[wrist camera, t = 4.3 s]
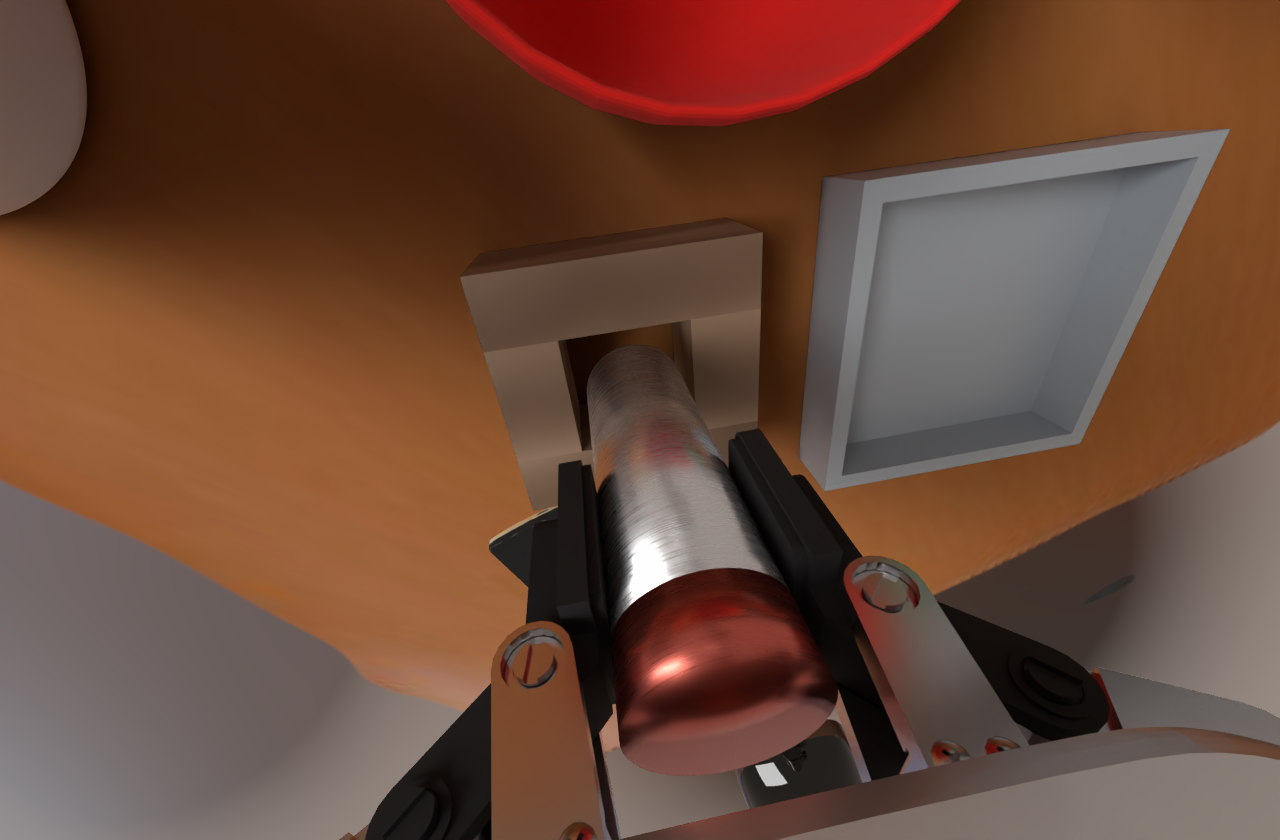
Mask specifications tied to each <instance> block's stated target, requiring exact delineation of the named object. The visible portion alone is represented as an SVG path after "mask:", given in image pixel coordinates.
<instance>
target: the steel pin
mask: <svg viewBox="0 0 1280 840" xmlns="http://www.w3.org/2000/svg"><path fill="white" fill-rule="evenodd" d="M587 400H588V411H589V421H590V432H591V443H592V453H593V464H594V475H595V485H596V491H597V498H598V508H599V518H600V529H601V539H602V549H603V560H604V570H605V580H606V591H607V601H608V612H609V622H610V632H611V638H610V646H611V656H612V667H613V678H614V688H615V699H616V710H617V720H618V731H619V741H620V747H621V750H622V752H623V754H624V755H625V756H626V757H627V758H628V760H630V761H631V762H632V763H633V764H635V765H637V766H639V767H641V768H643V769H645V770H648V771H651V772H655V773H660V774H666V775H677V776H695V775H707V774H715V773H720V772H726V771H731V770H735V769H739V768H743V767H746V766H750V765H753V764H756V763H759V762H761V761H764V760H767V759H769V758H771V757H774V756H776V755H778V754H780V753H782V752H784V751H786V750H788V749H790V748H792V747H793V746H795V745H797V744H798V743H800V742H802V741H803V740H804V739H806V738H807V737H809V736H810V735H811V734H812V733H814V732H815V731H816V730H817V729H818V728H819V727H820V726H821V725H822V724H823V723H824V722H825V721H826V720H827V719H828V717H829V716H830V715H831V713H832V711H833V710H834V708H835V705H836V703H837V700H838V686H837V684H836V681H835V679H834V677H833V675H832V673H831V671H830V669H829V667H828V665H827V663H826V661H825V659H824V657H823V655H822V653H821V651H820V649H819V647H818V645H817V644H816V642H815V640H814V638H813V636H812V634H811V632H810V630H809V628H808V626H807V624H806V622H805V620H804V618H803V616H802V614H801V612H800V610H799V608H798V606H797V604H796V602H795V600H794V598H793V596H792V594H791V592H790V590H789V588H788V586H787V584H786V582H785V580H784V578H783V576H782V574H781V572H780V570H779V568H778V566H777V564H776V562H775V560H774V558H773V556H772V554H771V552H770V550H769V548H768V546H767V544H766V542H765V540H764V538H763V536H762V534H761V533H760V531H759V529H758V527H757V525H756V523H755V521H754V519H753V517H752V515H751V513H750V511H749V509H748V507H747V505H746V503H745V501H744V499H743V497H742V495H741V493H740V491H739V489H738V487H737V485H736V483H735V481H734V479H733V477H732V475H731V473H730V471H729V469H728V467H727V465H726V463H725V461H724V459H723V457H722V455H721V453H720V451H719V449H718V447H717V445H716V443H715V441H714V439H713V437H712V435H711V433H710V431H709V429H708V427H707V425H706V424H705V422H704V420H703V418H702V416H701V414H700V412H699V410H698V408H697V406H696V404H695V402H694V400H693V398H692V396H691V394H690V392H689V390H688V388H687V386H686V384H685V382H684V380H683V378H682V376H681V374H680V372H679V370H678V368H677V366H676V364H675V363H674V361H673V360H672V359H671V358H670V357H669V356H668V355H667V354H665V353H664V352H662V351H661V350H659V349H656V348H654V347H651V346H646V345H628V346H623V347H620V348H617V349H615V350H613V351H611V352H609V353H608V354H606V355H605V356H604V357H603V358H601V359H600V360H599V361H598V363H597V364H596V365H595V366H594V368H593V369H592V371H591V373H590V376H589V379H588V383H587Z"/></svg>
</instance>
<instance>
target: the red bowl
mask: <svg viewBox="0 0 1280 840" xmlns="http://www.w3.org/2000/svg"><path fill="white" fill-rule="evenodd" d="M445 1H446V2H447V3H448V4H449V5H450V7H451V8H452V9H453V10H454V11H455V12H456V13H457V14H458V15H459V17H460V18H461V19H462V20H463V21H464V22H465V23H466V24H467V25H468V26H469V27H471V28H472V29H473V30H474V31H475V32H477V33H478V34H479V35H480V36H482V37H483V38H484V39H485V40H487V41H488V42H489V43H490V44H492V45H493V46H494V47H495V48H497V49H498V50H499V51H500V52H502V53H503V54H504V55H505V56H507V57H508V58H509V59H510V60H512V61H513V62H514V63H515V64H517V65H518V66H519V67H521V68H522V69H523V70H524V71H526V72H527V73H528V74H529V75H531V76H532V77H533V78H534V79H536V80H538V81H539V82H541V83H543V84H545V85H547V86H549V87H551V88H553V89H555V90H557V91H559V92H561V93H563V94H565V95H567V96H569V97H571V98H573V99H575V100H577V101H578V102H580V103H582V104H584V105H586V106H588V107H590V108H592V109H595V110H599V111H603V112H606V113H610V114H614V115H618V116H622V117H626V118H630V119H633V120H637V121H641V122H645V123H649V124H654V125H686V126H726V125H731V124H736V123H741V122H745V121H750V120H755V119H759V118H764V117H769V116H773V115H778V114H783V113H787V112H792V111H795V110H797V109H800V108H802V107H804V106H806V105H808V104H810V103H813V102H815V101H817V100H819V99H821V98H823V97H825V96H827V95H830V94H832V93H834V92H836V91H838V90H840V89H842V88H845V87H847V86H849V85H851V84H853V83H855V82H857V81H859V80H862V79H864V78H866V77H867V76H869V75H870V74H871V73H873V72H874V71H875V70H877V69H878V68H880V67H881V66H882V65H884V64H885V63H886V62H888V61H889V60H891V59H892V58H893V57H895V56H896V55H897V54H899V53H900V52H902V51H903V50H904V49H906V48H907V47H908V46H910V45H911V44H913V43H914V42H915V41H917V40H918V39H919V38H921V37H922V36H924V35H925V34H926V33H928V32H929V31H930V30H932V29H933V28H934V27H935V26H936V25H937V24H938V23H939V22H940V21H941V20H942V19H943V18H944V17H945V16H946V15H947V14H948V13H949V12H950V11H951V10H952V9H953V8H954V7H955V6H956V5H957V4H958V3H959V2H960V1H961V0H445Z"/></svg>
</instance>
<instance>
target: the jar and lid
mask: <svg viewBox="0 0 1280 840" xmlns="http://www.w3.org/2000/svg"><path fill="white" fill-rule="evenodd" d="M735 771H736V774H737V778H738V781H739V784H740V786H741V789H742V792H743V795H744V798H745V800H746V802H747V805H748V807H749V809H752V808H756V807H760V806H765V805H769V804H773V803H778V802H782V801H786V800H791V799H795V798H799V797H804V796H808V795H812V794H817V793H821V792H825V791H830V790H834V789H838V788H843V787H847V786H851V785H856V784H860V783H862V780H861V777H860V775H859V772H858V769H857V766H856V763H855V760H854V757H853V754H852V752H851V749H850V746H849V743H848V740H847V737H846V734H845V732H844V729H843V726H842V723H841V720H840V717H839V714H838V712H837V709H836V706H835V708H834V710H833V711H832V713H831V715H830V716H829V717H828V719H827V720H826V721H825V722H824V723H823V724H822V725H821V726H820V727H819V728H818V729H817V730H816V731H815V732H814V733H812V734H811V735H810V736H809V737H807V738H806V739H804V740H803V741H802V742H800V743H798V744H797V745H795V746H793V747H792V748H790V749H788V750H786V751H784V752H782V753H780V754H778V755H776V756H774V757H771V758H769V759H767V760H764V761H761V762H759V763H756V764H753V765H750V766H746V767H743V768H739V769H735Z"/></svg>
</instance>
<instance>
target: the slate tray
mask: <svg viewBox="0 0 1280 840" xmlns="http://www.w3.org/2000/svg"><path fill="white" fill-rule="evenodd" d="M1229 130H1230V129H1210V130H1182V131H1155V132H1138V133H1131V134H1123V135H1116V136H1109V137H1102V138H1095V139H1088V140H1081V141H1074V142H1067V143H1060V144H1052V145H1045V146H1038V147H1031V148H1024V149H1017V150H1010V151H1003V152H996V153H989V154H981V155H974V156H967V157H960V158H953V159H946V160H939V161H932V162H925V163H918V164H911V165H903V166H896V167H889V168H882V169H875V170H868V171H861V172H854V173H847V174H840V175H832V176H825V177H823V179H822V191H821V203H820V214H819V226H818V237H817V249H816V261H815V272H814V284H813V295H812V307H811V319H810V330H809V342H808V354H807V365H806V377H805V388H804V400H803V412H802V423H801V435H800V447H799V458H800V460H801V461H802V462H803V464H804V465H805V466H806V468H807V469H808V470H809V471H810V473H811V474H812V475H813V477H814V478H815V479H816V481H817V482H818V483H819V485H820V486H821V487H822V488H823V490H824V491H829V490H834V489H839V488H845V487H850V486H855V485H861V484H866V483H871V482H877V481H882V480H888V479H893V478H898V477H904V476H909V475H914V474H920V473H925V472H930V471H936V470H941V469H947V468H952V467H957V466H963V465H968V464H973V463H979V462H984V461H989V460H995V459H1000V458H1006V457H1011V456H1016V455H1022V454H1027V453H1032V452H1038V451H1043V450H1048V449H1054V448H1059V447H1065V446H1070V445H1075V444H1080V443H1081V440H1082V438H1083V436H1084V434H1085V432H1086V430H1087V428H1088V426H1089V424H1090V422H1091V420H1092V417H1093V415H1094V413H1095V411H1096V409H1097V407H1098V405H1099V403H1100V401H1101V399H1102V396H1103V394H1104V392H1105V390H1106V388H1107V386H1108V384H1109V382H1110V380H1111V378H1112V375H1113V373H1114V371H1115V369H1116V367H1117V365H1118V363H1119V361H1120V359H1121V357H1122V355H1123V352H1124V350H1125V348H1126V346H1127V344H1128V342H1129V340H1130V338H1131V336H1132V334H1133V331H1134V329H1135V327H1136V325H1137V323H1138V321H1139V319H1140V317H1141V315H1142V313H1143V311H1144V308H1145V306H1146V304H1147V302H1148V300H1149V298H1150V296H1151V294H1152V292H1153V290H1154V287H1155V285H1156V283H1157V281H1158V279H1159V277H1160V275H1161V273H1162V271H1163V269H1164V267H1165V264H1166V262H1167V260H1168V258H1169V256H1170V254H1171V252H1172V250H1173V248H1174V246H1175V243H1176V241H1177V239H1178V237H1179V235H1180V233H1181V231H1182V229H1183V227H1184V225H1185V222H1186V220H1187V218H1188V216H1189V214H1190V212H1191V210H1192V208H1193V206H1194V204H1195V202H1196V199H1197V197H1198V195H1199V193H1200V191H1201V189H1202V187H1203V185H1204V183H1205V181H1206V178H1207V176H1208V174H1209V172H1210V170H1211V168H1212V166H1213V164H1214V162H1215V160H1216V158H1217V155H1218V153H1219V151H1220V149H1221V147H1222V145H1223V143H1224V141H1225V139H1226V137H1227V134H1228V132H1229Z"/></svg>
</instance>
